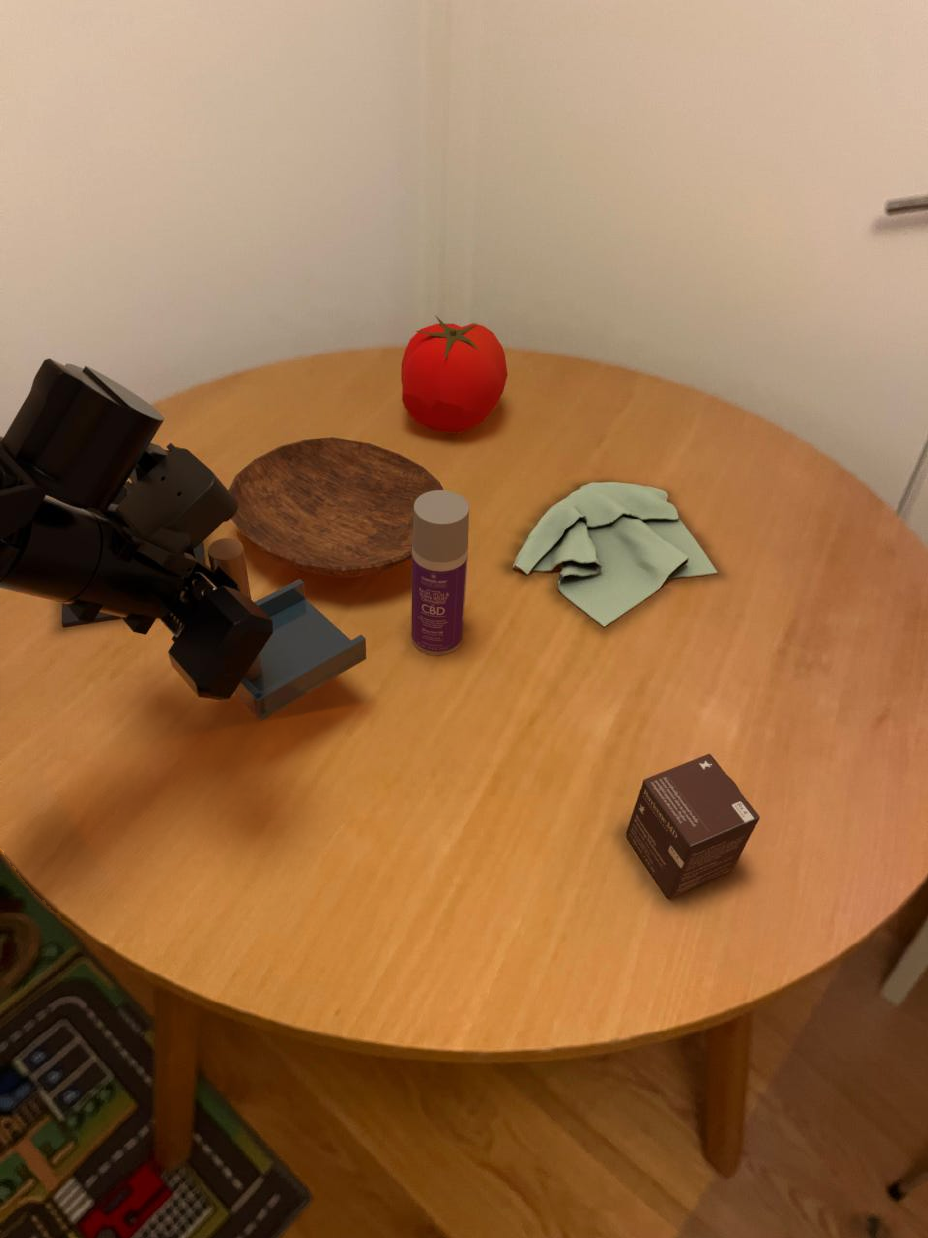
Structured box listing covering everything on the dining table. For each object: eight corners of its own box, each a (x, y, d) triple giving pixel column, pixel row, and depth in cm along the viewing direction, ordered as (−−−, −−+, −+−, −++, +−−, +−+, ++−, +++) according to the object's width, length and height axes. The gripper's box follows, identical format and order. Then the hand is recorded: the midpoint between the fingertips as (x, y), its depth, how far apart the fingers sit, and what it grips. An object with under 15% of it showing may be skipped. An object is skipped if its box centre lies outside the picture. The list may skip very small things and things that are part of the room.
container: (417, 659, 82) (419, 528, 71) (406, 623, 85) (406, 492, 74) (468, 651, 83) (477, 520, 72) (455, 615, 86) (462, 485, 75)
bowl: (320, 454, 103) (317, 416, 100) (483, 529, 95) (486, 490, 92) (191, 544, 92) (182, 504, 88) (364, 639, 83) (362, 599, 80)
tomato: (376, 412, 110) (374, 322, 102) (462, 379, 116) (466, 291, 108) (440, 460, 104) (443, 368, 95) (527, 422, 110) (537, 332, 102)
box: (623, 834, 70) (640, 777, 65) (688, 807, 72) (710, 750, 67) (667, 901, 66) (690, 847, 61) (735, 871, 68) (762, 816, 63)
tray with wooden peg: (260, 721, 69) (239, 594, 60) (197, 653, 73) (169, 525, 64) (366, 659, 74) (362, 533, 65) (301, 599, 78) (289, 474, 69)
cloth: (670, 481, 103) (675, 463, 101) (739, 617, 87) (745, 599, 86) (490, 490, 100) (492, 471, 98) (529, 632, 85) (531, 614, 83)
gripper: (224, 520, 49) (389, 585, 62) (68, 375, 58) (241, 458, 71) (117, 689, 50) (301, 717, 63) (-17, 520, 60) (167, 576, 73)
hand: (251, 608), depth 68 cm, fingers closed on tray with wooden peg, 2 cm apart
